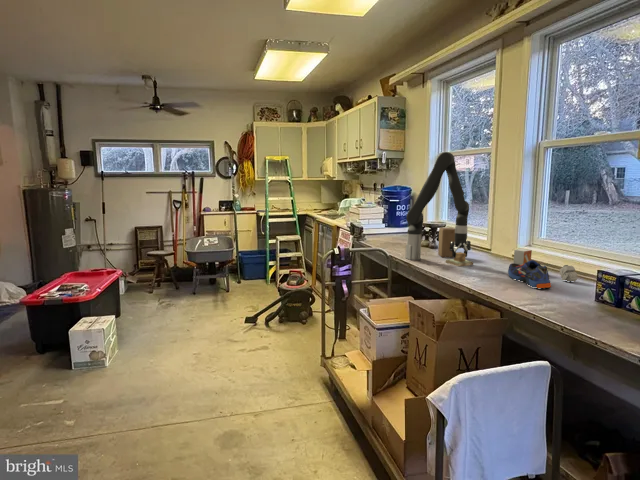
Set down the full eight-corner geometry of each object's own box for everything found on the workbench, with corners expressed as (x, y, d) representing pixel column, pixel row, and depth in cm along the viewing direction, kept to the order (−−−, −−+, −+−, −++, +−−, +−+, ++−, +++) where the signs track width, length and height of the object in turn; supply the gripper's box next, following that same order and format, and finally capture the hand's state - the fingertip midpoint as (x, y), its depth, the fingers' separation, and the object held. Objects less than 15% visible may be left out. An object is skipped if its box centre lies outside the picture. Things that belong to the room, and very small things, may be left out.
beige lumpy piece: (573, 284, 222) (566, 268, 228) (581, 279, 217) (573, 262, 222) (563, 285, 221) (556, 268, 227) (571, 279, 216) (564, 263, 221)
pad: (457, 266, 259) (457, 263, 259) (445, 262, 270) (445, 259, 270) (473, 265, 263) (473, 261, 263) (461, 261, 274) (461, 258, 274)
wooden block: (456, 257, 287) (457, 229, 284) (441, 257, 287) (442, 229, 284) (451, 255, 297) (453, 227, 294) (437, 254, 297) (439, 227, 294)
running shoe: (521, 275, 237) (523, 253, 235) (560, 290, 206) (562, 265, 204) (501, 275, 236) (503, 254, 234) (537, 291, 204) (539, 266, 202)
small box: (522, 273, 241) (524, 251, 239) (512, 271, 246) (514, 249, 244) (530, 271, 245) (532, 249, 243) (520, 269, 251) (521, 248, 249)
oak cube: (458, 261, 263) (459, 254, 262) (453, 260, 268) (454, 252, 267) (465, 261, 265) (465, 253, 264) (460, 259, 270) (460, 252, 269)
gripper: (455, 233, 258) (454, 259, 260) (474, 232, 262) (472, 257, 265) (447, 232, 265) (446, 256, 267) (466, 231, 269) (464, 255, 272)
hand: (459, 257), depth 266 cm, fingers open, 8 cm apart
